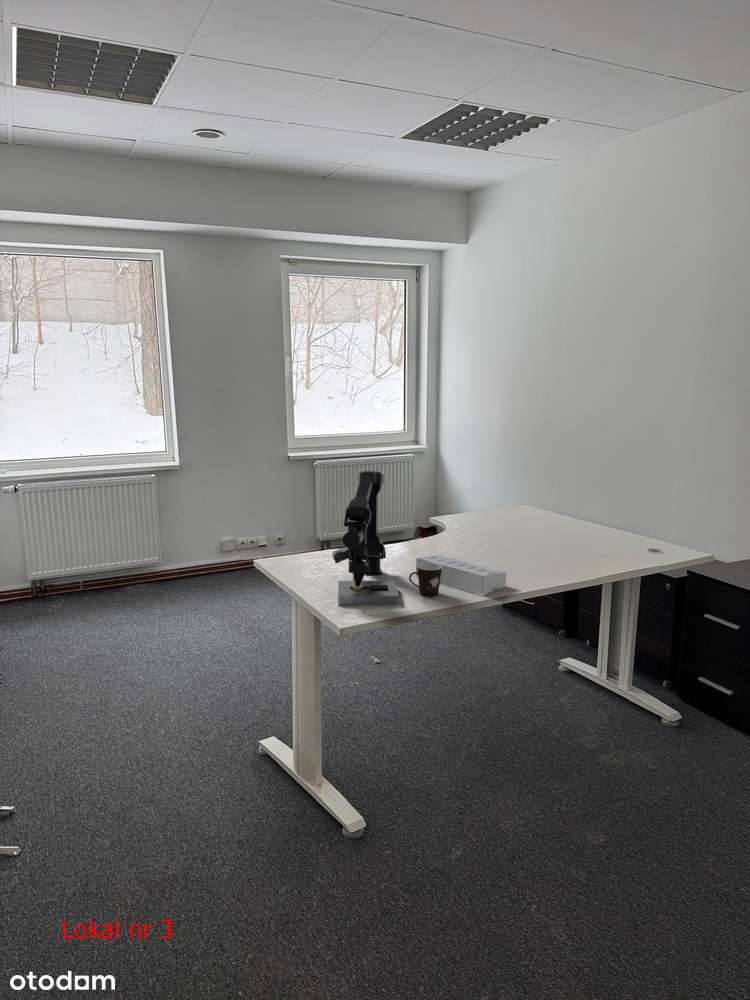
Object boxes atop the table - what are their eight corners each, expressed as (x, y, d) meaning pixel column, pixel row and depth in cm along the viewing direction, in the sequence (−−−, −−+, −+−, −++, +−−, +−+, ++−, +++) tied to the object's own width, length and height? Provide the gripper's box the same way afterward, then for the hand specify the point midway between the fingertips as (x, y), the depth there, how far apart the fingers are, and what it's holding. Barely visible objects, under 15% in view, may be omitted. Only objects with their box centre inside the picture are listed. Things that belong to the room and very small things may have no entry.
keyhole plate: (338, 589, 246) (338, 580, 245) (394, 589, 247) (395, 580, 246) (338, 605, 231) (338, 596, 230) (398, 605, 231) (398, 596, 231)
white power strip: (505, 587, 252) (506, 567, 250) (482, 597, 242) (483, 576, 240) (439, 569, 272) (440, 550, 270) (416, 577, 262) (416, 558, 260)
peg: (350, 593, 241) (350, 567, 239) (363, 593, 241) (363, 567, 239) (350, 598, 236) (351, 571, 234) (363, 598, 237) (364, 571, 235)
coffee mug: (439, 589, 247) (440, 562, 245) (442, 598, 239) (443, 570, 237) (406, 589, 247) (407, 562, 245) (408, 598, 238) (409, 570, 236)
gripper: (334, 533, 243) (334, 576, 246) (333, 548, 225) (333, 594, 228) (366, 533, 244) (365, 576, 247) (368, 548, 226) (367, 594, 229)
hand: (357, 584), depth 238 cm, fingers closed on peg, 3 cm apart
